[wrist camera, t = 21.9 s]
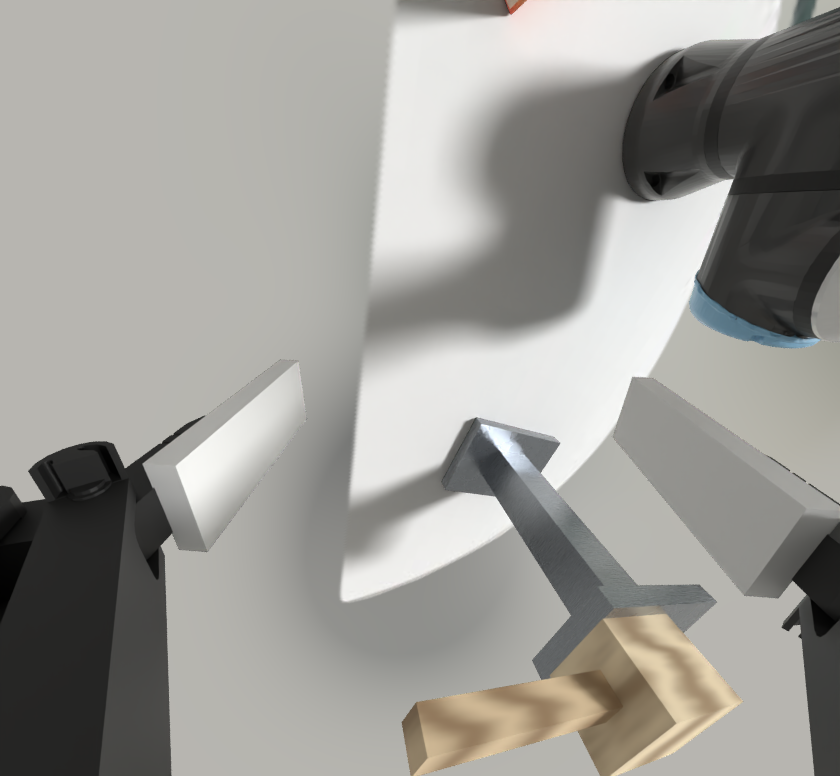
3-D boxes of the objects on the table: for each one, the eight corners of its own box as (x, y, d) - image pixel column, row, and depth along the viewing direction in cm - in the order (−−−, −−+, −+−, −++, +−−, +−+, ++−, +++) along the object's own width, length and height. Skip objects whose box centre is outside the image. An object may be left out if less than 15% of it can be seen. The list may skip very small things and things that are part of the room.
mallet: (379, 704, 24) (399, 861, 19) (426, 632, 21) (468, 792, 16) (614, 664, 36) (672, 753, 30) (666, 613, 33) (743, 701, 27)
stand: (441, 481, 58) (538, 689, 33) (476, 417, 54) (620, 601, 28) (517, 492, 66) (644, 668, 40) (553, 436, 61) (723, 596, 35)
